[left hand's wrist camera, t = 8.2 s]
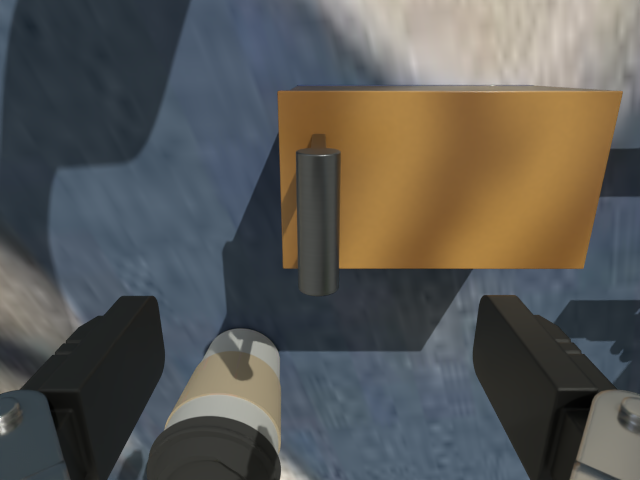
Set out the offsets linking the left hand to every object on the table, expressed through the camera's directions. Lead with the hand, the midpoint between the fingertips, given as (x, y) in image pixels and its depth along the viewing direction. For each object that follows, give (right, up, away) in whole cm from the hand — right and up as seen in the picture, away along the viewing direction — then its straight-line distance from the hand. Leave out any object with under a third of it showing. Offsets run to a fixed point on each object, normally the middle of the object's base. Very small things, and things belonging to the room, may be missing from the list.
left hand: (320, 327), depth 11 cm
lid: (+7, +5, +15) cm, 17 cm away
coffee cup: (-7, -9, +32) cm, 34 cm away
